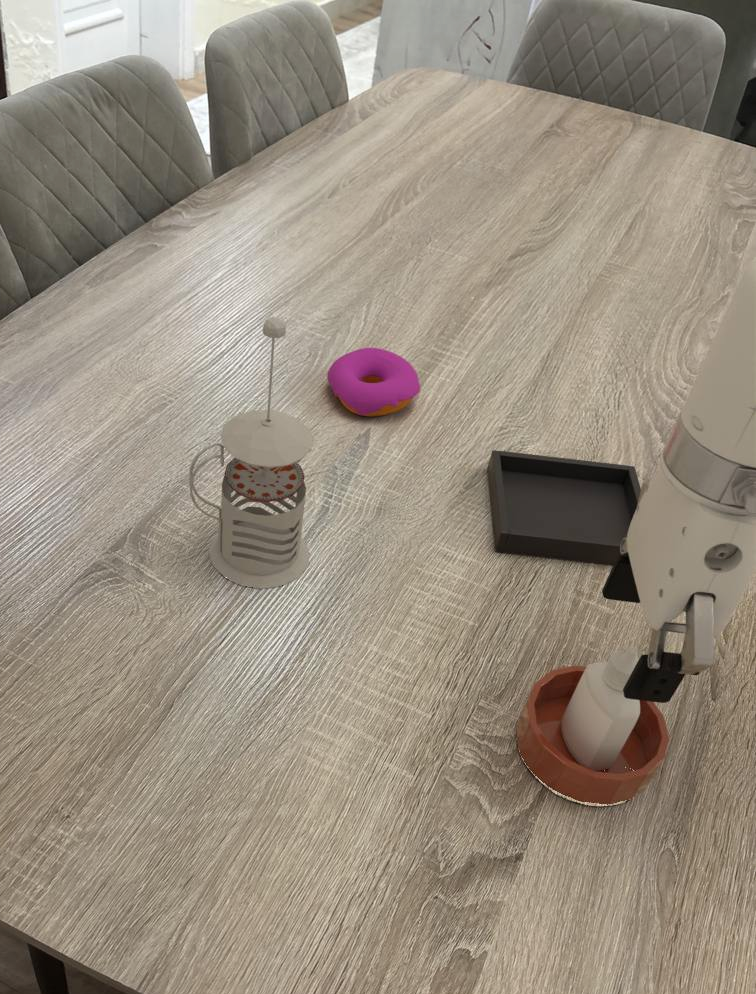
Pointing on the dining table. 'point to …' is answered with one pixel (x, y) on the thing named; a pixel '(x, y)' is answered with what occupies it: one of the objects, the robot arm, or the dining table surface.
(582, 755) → the eye dropper bottle
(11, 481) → the dining table surface
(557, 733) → the bowl
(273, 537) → the french press
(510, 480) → the tray
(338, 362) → the donut
